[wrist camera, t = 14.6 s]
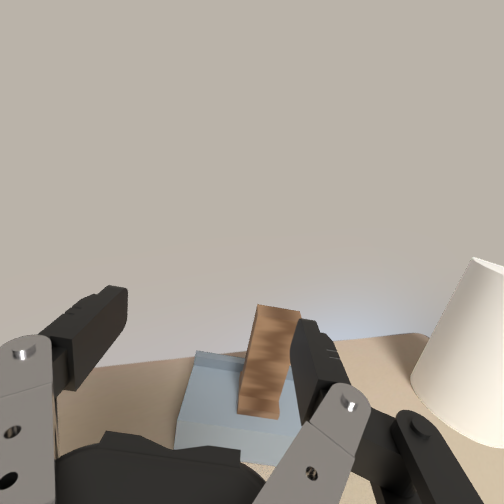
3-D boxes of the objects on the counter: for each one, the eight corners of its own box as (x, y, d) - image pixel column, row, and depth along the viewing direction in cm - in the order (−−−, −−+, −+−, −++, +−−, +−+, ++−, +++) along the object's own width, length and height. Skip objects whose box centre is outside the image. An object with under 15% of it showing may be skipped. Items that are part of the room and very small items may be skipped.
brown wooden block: (236, 414, 34) (257, 324, 29) (239, 377, 39) (257, 297, 34) (277, 420, 34) (305, 332, 29) (274, 382, 39) (297, 303, 35)
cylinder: (511, 471, 40) (638, 321, 30) (397, 389, 51) (462, 261, 42) (518, 414, 51) (612, 292, 41) (424, 357, 63) (480, 252, 53)
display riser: (173, 451, 33) (178, 409, 31) (191, 387, 43) (196, 350, 40) (321, 472, 34) (339, 433, 32) (307, 405, 44) (320, 370, 41)
